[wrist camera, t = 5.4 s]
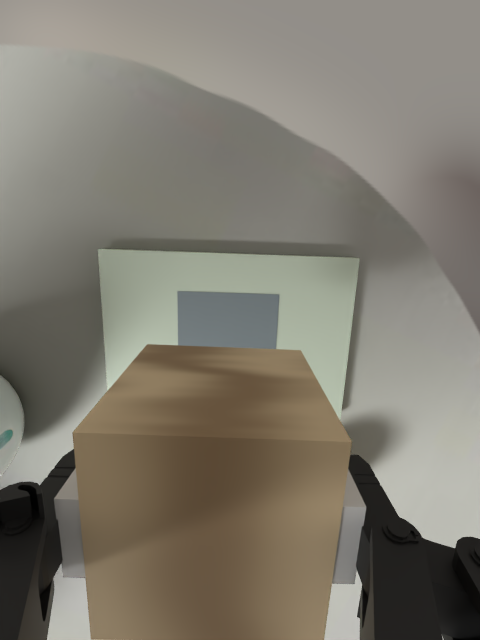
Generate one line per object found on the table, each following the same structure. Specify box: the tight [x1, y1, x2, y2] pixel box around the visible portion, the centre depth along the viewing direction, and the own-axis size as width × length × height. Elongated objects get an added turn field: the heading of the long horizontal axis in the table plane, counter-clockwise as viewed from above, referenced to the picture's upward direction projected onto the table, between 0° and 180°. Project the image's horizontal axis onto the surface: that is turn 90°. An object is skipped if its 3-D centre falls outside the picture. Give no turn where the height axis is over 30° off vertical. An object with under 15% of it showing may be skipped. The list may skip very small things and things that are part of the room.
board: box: [98, 249, 360, 420], centre depth 28 cm, size 20×14×1 cm
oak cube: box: [73, 344, 352, 640], centre depth 13 cm, size 7×7×7 cm
